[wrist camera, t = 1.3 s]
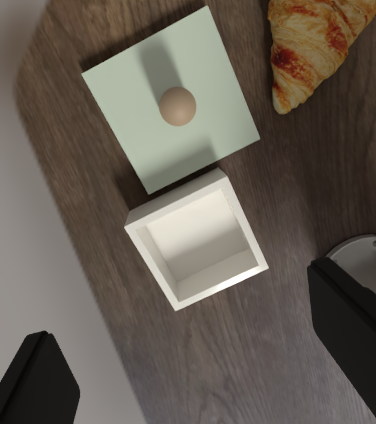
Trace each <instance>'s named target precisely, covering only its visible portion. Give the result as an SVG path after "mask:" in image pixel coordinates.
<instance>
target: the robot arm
mask: <svg viewBox="0 0 376 424" xmlns="http://www.w3.org/2000/svg"><path fill="white" fill-rule="evenodd" d="M307 274H308V284H309V294H310V303H311V313H312V322H313V328H314V330H315V332H316V334H317V336H318V337H319V339H320V340H321V342H322V343H323V344H324V346H325V347H326V349H327V350H328V351H329V353H330V354H331V356H332V357H333V358H334V360H335V361H336V363H337V364H338V365H339V367H340V368H341V370H342V371H343V372H344V374H345V375H346V377H347V378H348V379H349V381H350V382H351V384H352V385H353V386H354V388H355V389H356V391H357V392H358V393H359V395H360V396H361V398H362V399H363V400H364V402H365V403H366V405H367V406H368V407H369V409H370V410H371V412H372V413H373V414H374V416H375V417H376V235H374V234H369V235H360V236H357V237H353V238H350V239H348V240H346V241H344V242H342V243H341V244H339V245H338V246H336V247H335V248H333V249H332V250H331V251H330V252H329V253H328V254H327V255H326V256H325V257H324V258H320V259H317V260H313V261H311V265H310V266H308V267H307ZM79 398H80V389H79V386H78V384H77V382H76V380H75V378H74V376H73V374H72V372H71V370H70V368H69V366H68V364H67V362H66V360H65V358H64V355H63V354H62V351H61V349H60V348H59V345H58V343H57V341H56V339H55V338H54V336H53V334H51V333H50V334H48V332H46V331H41V332H37V333H33V334H29V335H27V336H26V338H25V339H24V341H23V343H22V345H21V346H20V348H19V350H18V352H17V354H16V355H15V357H14V359H13V361H12V362H11V364H10V366H9V368H8V369H7V371H6V373H5V375H4V376H3V378H2V380H1V382H0V424H73V422H74V418H75V414H76V410H77V406H78V402H79Z"/></svg>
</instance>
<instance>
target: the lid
mask: <svg viewBox="0 0 376 424" xmlns="http://www.w3.org/2000/svg"><path fill="white" fill-rule="evenodd" d="M82 76H83V78H84V80H85V81H86V83H87V85H88V87H89V89H90V90H91V92H92V94H93V96H94V98H95V99H96V101H97V103H98V105H99V107H100V108H101V110H102V112H103V114H104V116H105V117H106V119H107V121H108V123H109V125H110V126H111V128H112V130H113V132H114V134H115V135H116V137H117V139H118V141H119V143H120V144H121V146H122V148H123V150H124V152H125V153H126V155H127V157H128V159H129V160H130V162H131V164H132V166H133V168H134V169H135V171H136V173H137V175H138V177H139V178H140V180H141V182H142V184H143V186H144V187H145V189H146V191H147V193H148V195H149V194H151V193H153V192H155V191H157V190H159V189H161V188H163V187H165V186H167V185H169V184H171V183H173V182H175V181H177V180H179V179H181V178H183V177H185V176H187V175H189V174H191V173H193V172H195V171H197V170H199V169H201V168H203V167H205V166H207V165H209V164H211V163H213V162H215V161H217V160H219V159H221V158H223V157H225V156H227V155H229V154H231V153H233V152H235V151H237V150H239V149H241V148H243V147H245V146H247V145H249V144H251V143H253V142H255V141H257V140H259V139H260V137H259V134H258V131H257V129H256V126H255V124H254V121H253V119H252V116H251V114H250V111H249V109H248V106H247V104H246V101H245V99H244V96H243V93H242V91H241V88H240V86H239V83H238V81H237V78H236V76H235V73H234V71H233V68H232V66H231V63H230V61H229V58H228V56H227V53H226V50H225V48H224V45H223V43H222V40H221V38H220V35H219V33H218V30H217V28H216V25H215V23H214V20H213V18H212V15H211V12H210V10H209V7H208V5H207V6H205V7H203V8H202V9H200V10H198V11H196V12H194V13H192V14H191V15H189V16H187V17H185V18H183V19H181V20H180V21H178V22H176V23H174V24H172V25H170V26H169V27H167V28H165V29H163V30H161V31H159V32H158V33H156V34H154V35H152V36H150V37H148V38H147V39H145V40H143V41H141V42H139V43H137V44H136V45H134V46H132V47H130V48H128V49H126V50H125V51H123V52H121V53H119V54H117V55H115V56H113V57H112V58H110V59H108V60H106V61H104V62H102V63H101V64H99V65H97V66H95V67H93V68H91V69H90V70H88V71H86V72H84V73H82Z"/></svg>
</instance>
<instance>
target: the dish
mask: <svg viewBox="0 0 376 424" xmlns="http://www.w3.org/2000/svg"><path fill="white" fill-rule="evenodd" d="M124 228H125V229H126V231H127V233H128V234H129V236H130V238H131V239H132V241H133V242H134V244H135V246H136V247H137V249H138V251H139V252H140V254H141V256H142V257H143V259H144V260H145V262H146V264H147V265H148V267H149V269H150V270H151V272H152V274H153V275H154V277H155V278H156V280H157V282H158V283H159V285H160V287H161V288H162V290H163V292H164V293H165V295H166V297H167V298H168V300H169V301H170V303H171V305H172V306H173V308H174V310H175V311H177V310H179V309H181V308H184V307H186V306H188V305H190V304H192V303H194V302H196V301H199V300H201V299H203V298H205V297H207V296H209V295H212V294H214V293H216V292H218V291H220V290H222V289H225V288H227V287H229V286H231V285H233V284H235V283H238V282H240V281H242V280H244V279H246V278H248V277H251V276H253V275H255V274H257V273H259V272H261V271H264V270H266V269H268V265H267V263H266V261H265V259H264V257H263V254H262V252H261V250H260V248H259V245H258V243H257V241H256V239H255V237H254V234H253V232H252V230H251V228H250V226H249V223H248V221H247V219H246V217H245V214H244V212H243V210H242V208H241V206H240V203H239V201H238V199H237V197H236V195H235V192H234V190H233V188H232V186H231V183H230V181H229V179H228V177H227V175H226V174H225V173H224V172H223V171H222V170H221V169H220V168H219V167H217V168H215V169H213V170H211V171H209V172H207V173H205V174H203V175H201V176H199V177H197V178H195V179H193V180H191V181H189V182H187V183H185V184H183V185H181V186H179V187H177V188H175V189H173V190H171V191H169V192H167V193H165V194H163V195H161V196H159V197H157V198H155V199H153V200H151V201H149V202H147V203H145V204H143V205H141V206H139V207H137V208H135V209H133V210H131V211H130V212H129V215H128V218H127V220H126V223H125V226H124Z"/></svg>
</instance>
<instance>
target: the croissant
mask: <svg viewBox="0 0 376 424" xmlns="http://www.w3.org/2000/svg"><path fill="white" fill-rule="evenodd" d="M268 7H269V8H268V15H267V19H269V20H270V24H271V32H272V38H273V45H272V47H271V59H270V60H271V64H272V70H273V71H274V72H273V75H274V84H273V86H272V96H273V105H274V109H275V110H276V111H277V112H278V113H279V114H286V113H288V112H290V111H291V109H292V108H296V107H297V106H298V105H299V104H300V103H304V102H305V101H306V100H307V98H308V97H310V96H311V95H312V94H313V91H314V89H316V88H317V87H318V85H319V84H320V83H321V82H322V81H323V80H324V79H327V78H328V77H330V76H331V75H332V74H334V73H335V72H336V71H337V69H338V67H339V66H340V65H341V64H342V63H343V62H344V60H345V58H346V56H348V48H349V47H350V46H351V45H352V44H353V42H354V40H355V39H356V38H357V37H358V35H359V33H361V32H362V31H363V30H364V29H365V27H366V26H367V25H368V24H369V23H370V22H371V21H372V19H373V17H374V16H375V14H376V0H269V4H268Z"/></svg>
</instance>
